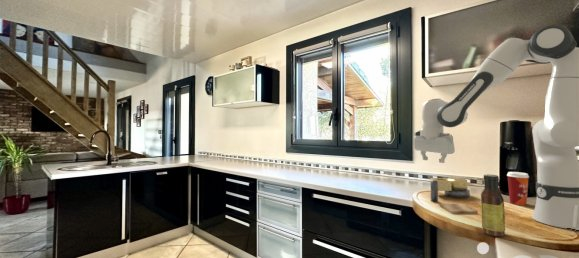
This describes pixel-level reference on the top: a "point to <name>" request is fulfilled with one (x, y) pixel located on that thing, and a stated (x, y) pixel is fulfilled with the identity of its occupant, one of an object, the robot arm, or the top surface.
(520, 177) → the paper cup
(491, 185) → the sauce bottle
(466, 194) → the chuck base
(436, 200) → the steel cylinder
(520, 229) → the top surface
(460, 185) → the chuck collar
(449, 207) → the wooden mat
